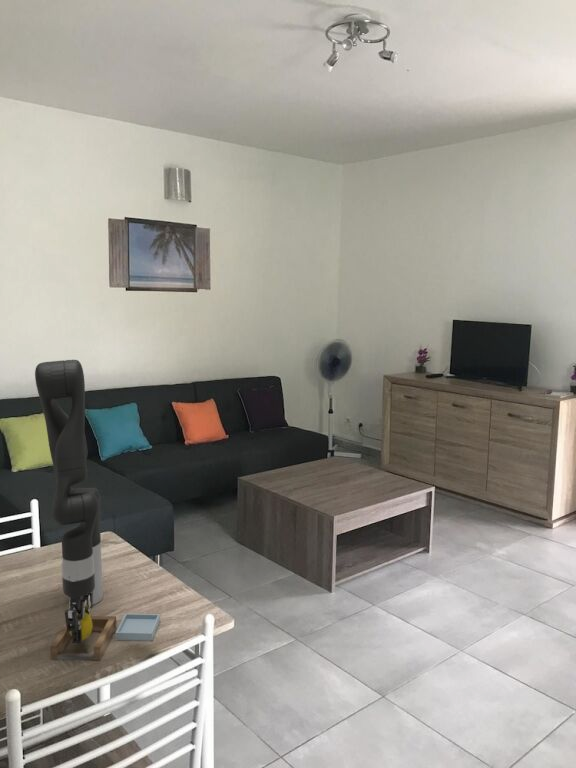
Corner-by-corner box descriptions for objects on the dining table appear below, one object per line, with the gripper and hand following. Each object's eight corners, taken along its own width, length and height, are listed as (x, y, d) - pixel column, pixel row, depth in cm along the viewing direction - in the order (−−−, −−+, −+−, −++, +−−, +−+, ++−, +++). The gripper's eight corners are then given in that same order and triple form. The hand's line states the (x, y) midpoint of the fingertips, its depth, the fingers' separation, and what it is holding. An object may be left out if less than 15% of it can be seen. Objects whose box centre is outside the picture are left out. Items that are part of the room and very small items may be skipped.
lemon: (84, 632, 161) (83, 603, 160) (97, 640, 158) (96, 610, 157) (65, 641, 157) (63, 612, 156) (77, 650, 154) (76, 619, 152)
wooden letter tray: (71, 627, 168) (70, 615, 167) (116, 628, 168) (116, 616, 167) (51, 659, 154) (50, 646, 153) (100, 660, 154) (99, 647, 153)
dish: (125, 620, 172) (125, 613, 171) (160, 620, 172) (159, 614, 171) (115, 639, 162) (115, 632, 162) (152, 640, 162) (152, 633, 162)
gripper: (73, 558, 161) (75, 619, 164) (51, 586, 147) (55, 652, 150) (102, 559, 161) (104, 620, 164) (84, 586, 147) (86, 652, 150)
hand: (81, 635), depth 157 cm, fingers closed on lemon, 5 cm apart
